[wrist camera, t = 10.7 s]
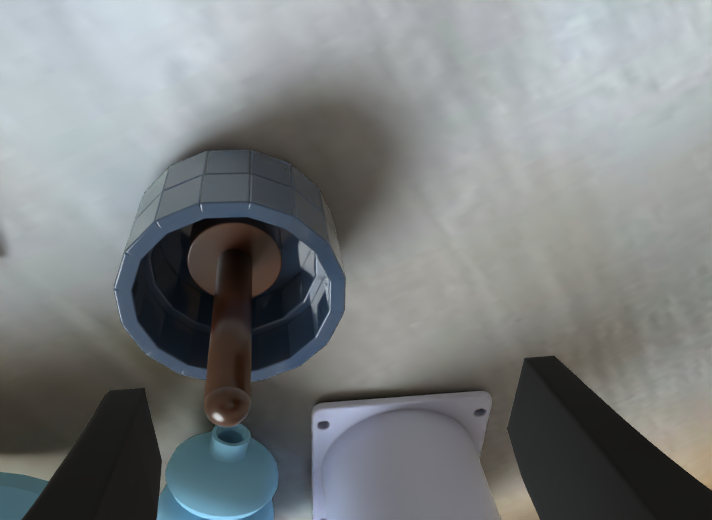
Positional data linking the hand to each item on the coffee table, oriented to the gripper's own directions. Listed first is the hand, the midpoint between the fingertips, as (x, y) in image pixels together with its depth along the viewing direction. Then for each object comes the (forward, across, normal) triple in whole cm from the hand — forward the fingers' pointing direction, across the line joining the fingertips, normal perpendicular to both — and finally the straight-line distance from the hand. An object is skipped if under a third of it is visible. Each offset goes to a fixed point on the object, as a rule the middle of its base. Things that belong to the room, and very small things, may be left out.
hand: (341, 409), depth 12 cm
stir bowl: (+10, +2, +2) cm, 11 cm away
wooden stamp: (+10, +2, +2) cm, 10 cm away
